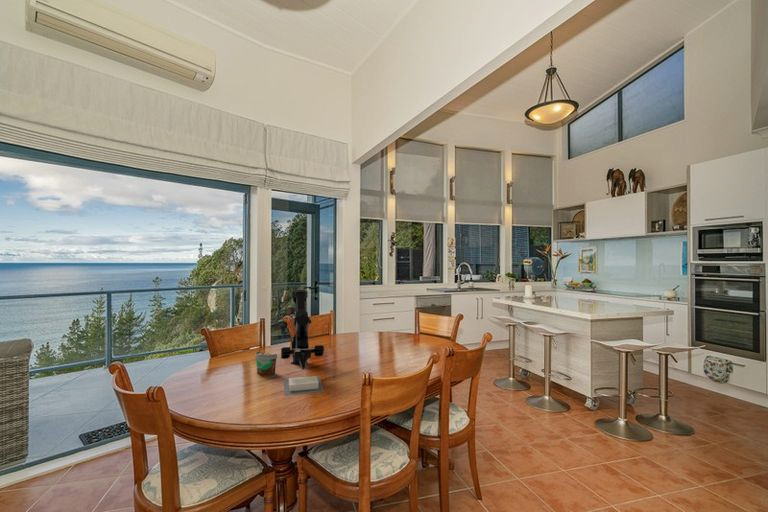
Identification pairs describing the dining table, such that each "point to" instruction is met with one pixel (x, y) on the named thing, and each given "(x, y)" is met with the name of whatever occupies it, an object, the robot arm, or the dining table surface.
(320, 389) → the mat
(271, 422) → the dining table surface
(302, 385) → the tile
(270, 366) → the food container
